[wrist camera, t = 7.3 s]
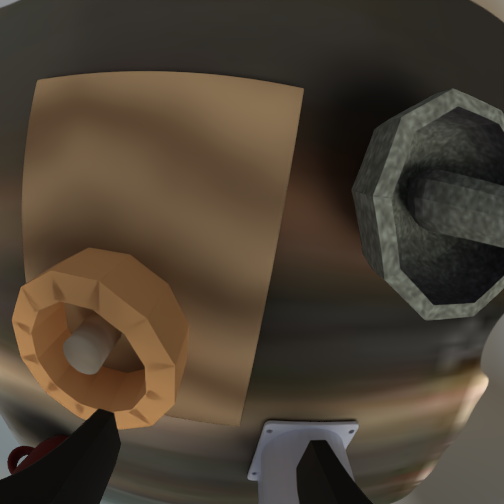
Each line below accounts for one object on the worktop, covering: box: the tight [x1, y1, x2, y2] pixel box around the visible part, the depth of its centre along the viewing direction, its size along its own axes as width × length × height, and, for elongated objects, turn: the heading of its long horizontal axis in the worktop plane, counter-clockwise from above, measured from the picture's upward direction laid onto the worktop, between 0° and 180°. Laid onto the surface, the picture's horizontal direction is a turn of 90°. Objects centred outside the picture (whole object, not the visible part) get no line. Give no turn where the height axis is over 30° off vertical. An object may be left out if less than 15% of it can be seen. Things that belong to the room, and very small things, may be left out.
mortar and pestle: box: [352, 89, 504, 320], centre depth 10 cm, size 11×9×12 cm
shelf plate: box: [22, 71, 304, 427], centre depth 15 cm, size 22×16×5 cm
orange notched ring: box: [12, 247, 189, 429], centre depth 15 cm, size 10×10×4 cm
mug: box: [7, 435, 68, 475], centre depth 18 cm, size 11×8×10 cm
